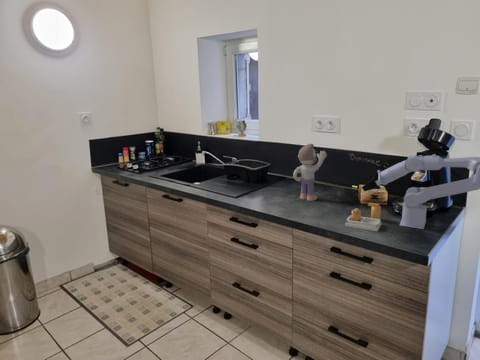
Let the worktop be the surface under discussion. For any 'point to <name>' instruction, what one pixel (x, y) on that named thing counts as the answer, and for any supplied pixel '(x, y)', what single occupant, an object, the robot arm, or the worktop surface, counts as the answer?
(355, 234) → the worktop surface
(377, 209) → the peg
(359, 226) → the housing
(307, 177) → the toy
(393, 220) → the worktop surface
